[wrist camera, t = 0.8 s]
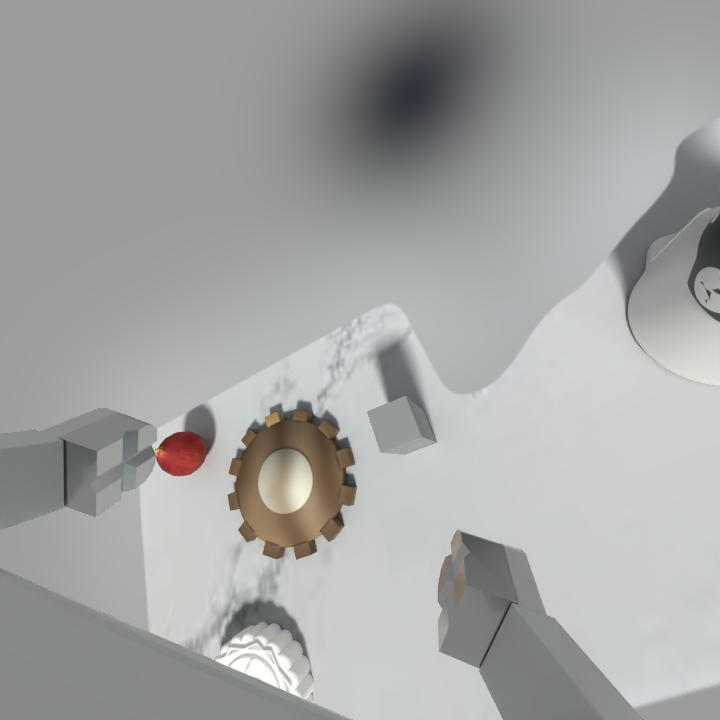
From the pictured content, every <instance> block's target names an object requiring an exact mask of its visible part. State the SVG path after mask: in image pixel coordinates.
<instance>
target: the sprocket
mask: <svg viewBox="0 0 720 720" xmlns="http://www.w3.org/2000/svg"><path fill="white" fill-rule="evenodd" d="M312 416H313V413H312V412H308V411H303V410H297V409H295V410H294V414H293V419H292V420H285V418H284V414H283V413H281V412H275V413H273V414H271V415H268V416H266V417H265V420H266V425H267V427H266V428H264V429H263V430H262V431H260V432H259V431H258V430H256V429H250V430H249V431H248V432H247V434H246V435H245V436H244V437H243V439H242V440H241V441H242V442H243V443H244V444H245V445H246V446H247V448H246V450H245V452H244V453H243V456H242V458H241V459H237V458H232V462H231V466H230V470H229V474H231V475H235V476H237V479H236V492H233V493H231V494H228V500H229V506H230V511H231V510H236V509H240V512H241V515H242V517H243V519H244V521H245V522H244V523H243V524H242V525H241V527H240V528H239V529H238V530H239V532H240V533H241V535H242V536H243V537H244V539H245V540H246V541H247V542H249V541H252V540H255V539H256V537H259V538H260V539H261V540H263V541H264V542H265V546H264V551H263V555H266V556H269V557H272V558H274V559H278V558H281V557H283V556H284V551H285V547H294V552H295V556H296V559H299V558H303V557H306V556H309V555H311V554H313V553H315V552H317V550H316V545H315V541H314V539H315V538H317V537H318V536H320V535H321V534H322V535H323V536H324V537H325V538H326V539H327V540H328V542H329V541H331V540H333V539H335V537H336V536H337V535H338V533H339V532H340V531H341V530H342V528H343V527H344V525H343V523H342V522H341V521H340V520H339V519H338V518H337V515H338V513H339V511H340V509H341V507H342V504H344V505H347V506H351V505H354V500H355V494H356V489H357V487H355V486H351V485H347V484H346V468H347V467H349V466H352V465H354V464H355V461H354V458H353V455H352V452H351V448H344V449H342V450H340V449H339V448H338V446H337V444H336V443H335V441H334V440H333V439H334V438H335V436H336V435H337V434H338V432H339V431H340V430H338V429H337V428H336V427H335V426H334V425H333V424H332V423H331V422H330V421H328V420H324V421H323V422H322V423H321V424H320V426H319V427H318V426H317V425H314V424H312V423H311V421H312Z"/></svg>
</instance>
